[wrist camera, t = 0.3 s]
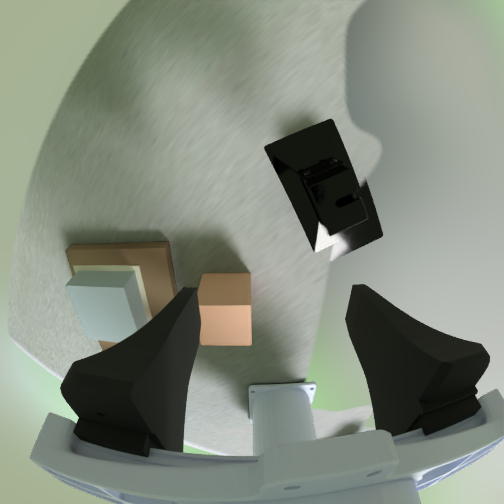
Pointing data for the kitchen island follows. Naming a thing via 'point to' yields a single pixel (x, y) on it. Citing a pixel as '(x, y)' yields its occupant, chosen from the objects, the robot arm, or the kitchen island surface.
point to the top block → (225, 309)
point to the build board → (131, 269)
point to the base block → (107, 304)
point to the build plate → (325, 189)
